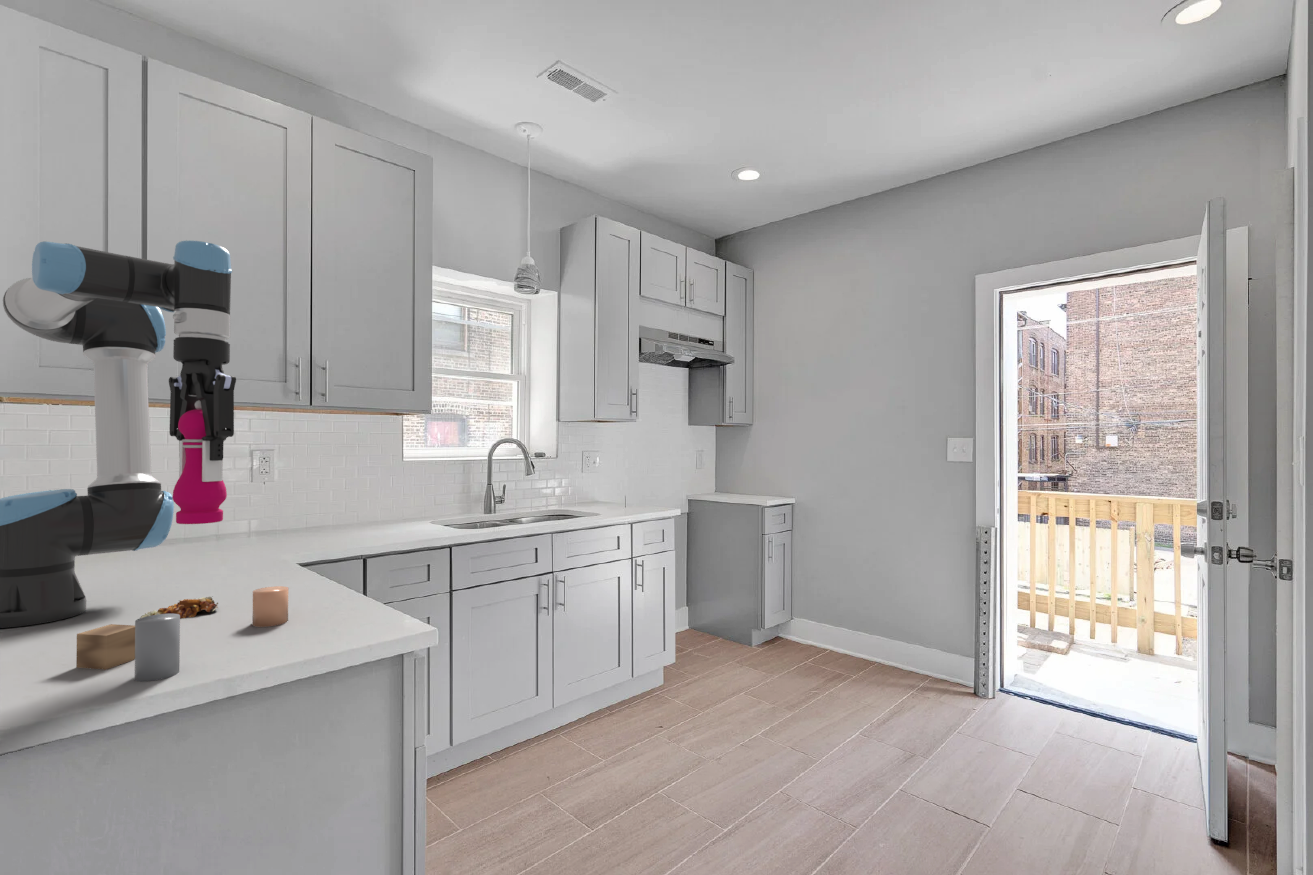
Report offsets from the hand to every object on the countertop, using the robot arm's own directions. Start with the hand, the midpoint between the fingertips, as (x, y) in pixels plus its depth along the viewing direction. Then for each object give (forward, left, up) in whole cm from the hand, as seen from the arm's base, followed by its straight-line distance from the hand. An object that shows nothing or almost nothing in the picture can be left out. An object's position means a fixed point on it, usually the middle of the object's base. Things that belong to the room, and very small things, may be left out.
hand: (200, 480), depth 104 cm
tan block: (-3, -11, -27) cm, 29 cm away
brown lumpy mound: (-21, +9, -27) cm, 36 cm away
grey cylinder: (+9, -11, -27) cm, 30 cm away
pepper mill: (0, 0, -7) cm, 7 cm away
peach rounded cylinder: (-1, +13, -27) cm, 30 cm away
